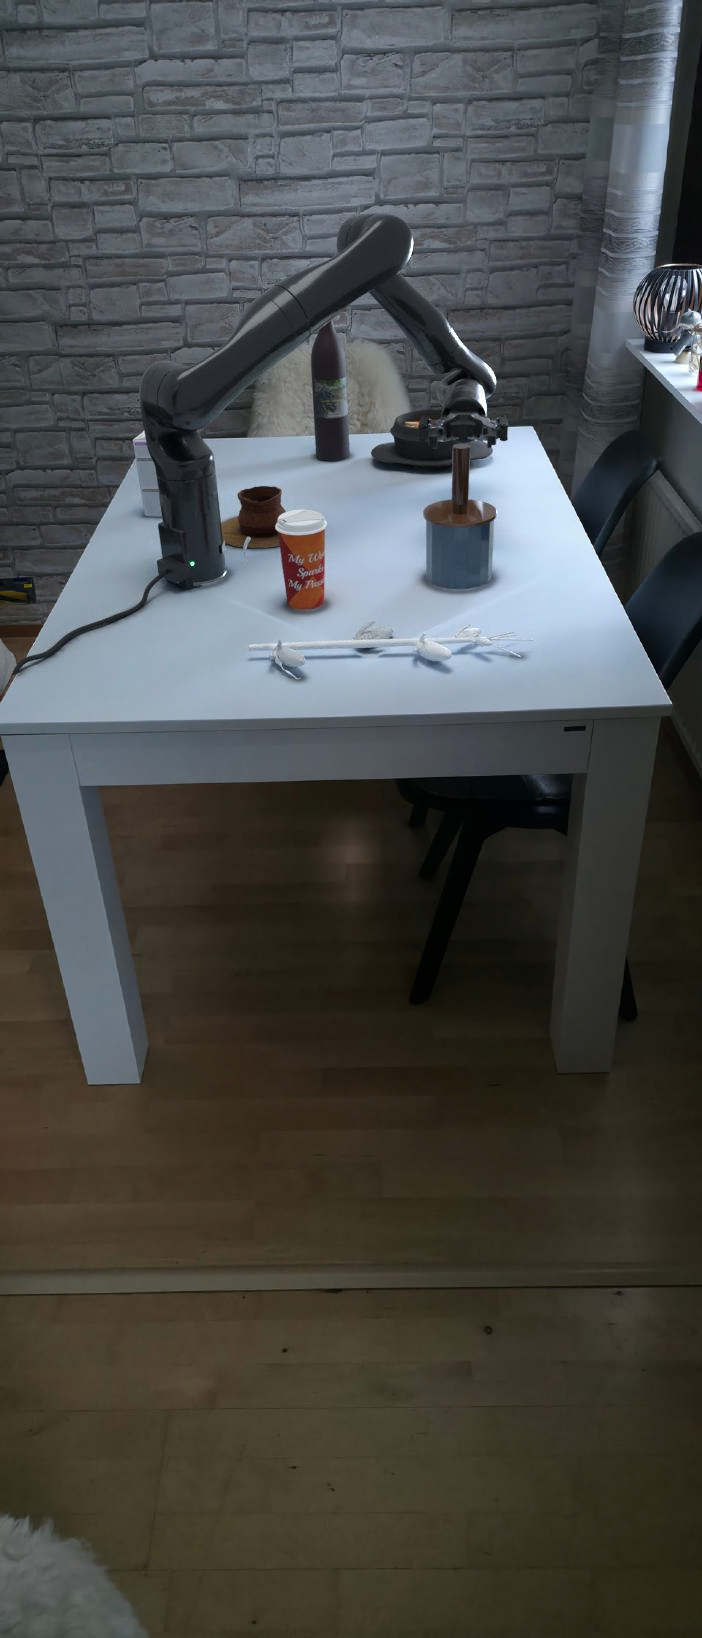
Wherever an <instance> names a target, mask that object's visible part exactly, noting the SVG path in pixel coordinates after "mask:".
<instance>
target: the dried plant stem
mask: <svg viewBox="0 0 702 1638" xmlns="http://www.w3.org/2000/svg"><path fill="white" fill-rule="evenodd" d="M250 540H251V538H250V537H247V539H246V540H245V543H244V547H243V556H244V560H245V561H246V563H247V565H250V563H249V560H248V557H247V548H248V547H247V545H248V543H249V541H250ZM375 623H376V620H371V621H370V622H367V623H366V624H363V626H362V627H360V628H359V629H358V631H357V632H356V634H355V636H353V638H352V639H346V640H345V639H343V640H342V639H341V640H319V641H318V640H317V641H294V642H293V641H292V642H283V640H282V639H281V638H279V639H278V640H277V642H275V643H256V644H255V643H254V644H248V651H249V652H257V651H258V652H261V651H263V652H264V651H265V652H266V651H267V652H268V651H270V652H272V653H270V654H269V656H268V657H269V660H270V661H271V660H275V664H277V665H278V666H279V667H280V668H281V670H282V671H285V672H286V673H287V674H289V675H290V676H291V677H292V678H295V680H301V679H302V677H297V676H296V675H294V673H292V672H291V671H289V670H288V669H284V667H283V665H285V666H287V667H289V668H293V667H303V666H305V664H306V658H305V656H304V655H303V654H302V653H301V652H299V651H307V650H339V649H340V650H342V649H368V648H369V649H371V648H392V647H393V648H394V647H414V648H413V649H412V654H414V655H416V654H417V655H419V656H421V657H422V658H425V659H426V660H429V661H431V662H436V661H437V662H438V661H440V662H445V661H448V660H450V659H451V658H452V656H453V655H452V651H450V649H449V648H447V647H445V646H443V645H452V644H467V643H470V644H471V643H472V644H476V645H477V646H480V647H491V646H493V647H496V648H498V649H501V650H502V651H505V652H507V653H509V654H512V655H513V656H516V657H519V658H521V657H522V655H520V654H518V653H516V652H513V651H512V650H509V649H507V648H504V647H503V646H500V645H498V644H495V643H493V641H496V642H497V641H498V642H499V641H519V642H520V641H521V642H522V641H523V642H524V641H525V642H526V641H527V642H534V640H535V639H534V638H511V637H516V636H517V634H516V632H515V630H513V631H508V632H504V633H503V632H502V633H499V634H495V635H488V636H485V637H484V636H480V635H481V633H482V630H481V628H479V627H470V626H471V623H467V624H466V625H463V626H462V627H461V628H460V629H459V630H458V631H457V633H456V634H454V637H427V633H426V632H423V633H422V634H421V636H420V637H412V638H411V637H410V638H409V637H408V638H391V637H392V636H393V635H394V632H395V631H394V628H392V627H390V626H375V627H372V626H373V625H374V624H375ZM370 627H371V628H370ZM469 627H470V628H469ZM509 637H510V638H509Z"/></svg>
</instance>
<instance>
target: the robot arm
mask: <svg viewBox="0 0 702 1638" xmlns="http://www.w3.org/2000/svg"><path fill="white" fill-rule="evenodd" d="M413 247H414V235H413V232H412V229H411V227H410V226H409V224H408V223H407V222H406V221H405V220H404V219H403V218H402V217H399V216H397V215H395V214H391V213H387V212H386V213H383V212H379V213H359V214H355V215H351V216H349V217H348V218H346V219H345V220H344V221H343V222H342V223H341V225H340V227H339V229H338V232H337V235H336V252H337V254H335V255H334V256H333V257H331V258H328V259H327V260H324V261H322V262H320V263H317V264H315V265H312V266H309V267H307V268H305V269H302V270H300V271H297V272H295V273H293V274H291V275H289V276H287V277H285V278H283V279H281V280H279V281H278V282H276V283H275V284H274V285H272V286H270V288H268V289H267V290H265V291H264V292H263V293H261V294H260V295H259V296H257V297H256V298H255V299H254V300H252V301H251V302H250V303H249V304H248V305H247V307H246V308H245V309H244V310H243V311H242V313H241V315H240V316H239V318H238V320H237V322H236V325H235V327H234V329H233V331H232V332H231V334H230V336H229V337H228V339H227V340H226V341H225V342H224V343H223V344H222V345H220V346H219V347H218V348H217V349H216V350H214V351H213V352H211V353H210V354H209V355H207V356H206V357H204V358H203V359H200V360H199V361H198V362H196V363H193V364H191V365H188V364H184V363H181V362H177V361H174V360H167V359H164V360H158V361H156V362H154V363H151V365H150V366H149V367H147V369H146V370H145V371H144V373H143V375H142V377H141V381H140V384H139V390H138V394H139V395H138V398H139V400H138V401H139V409H140V414H141V415H140V416H141V421H142V426H143V431H144V432H145V438H146V443H147V448H148V451H149V454H150V456H151V458H152V460H153V462H154V465H155V469H156V475H157V483H158V490H159V498H160V506H161V513H162V517H161V520H162V521H161V522H159V523H158V524H157V530H158V537H159V545H160V551H161V558H160V559H157V560H156V566H157V573H158V575H156V576H155V577H154V578H153V579H152V580H151V581H150V582H149V583H148V584H147V586H146V587H145V589H144V592H143V595H142V598H141V600H140V601H139V602H138V603H137V604H135V605H134V606H133V607H131V608H129V609H126V610H124V611H120V612H117V613H115V614H113V615H110V616H108V617H105V618H103V619H100V620H98V621H97V620H96V621H94V622H91V623H87V624H85V625H82V626H80V627H77V628H75V629H73V630H71V631H69V632H68V633H66V634H65V635H64V636H62V638H60V639H59V640H58V641H57V642H56V643H55V644H54V645H53V646H52V647H50V648H49V649H47V650H46V651H43V652H40V653H37V654H32V655H29V656H26V657H24V658H22V659H21V660H19V662H17V664H16V665H15V667H14V668H13V671H12V673H11V675H12V676H15V675H18V674H19V672H20V670H21V669H22V667H23V666H25V665H26V664H27V663H29V662H33V661H37V660H42V659H45V658H48V656H51V655H52V654H53V653H55V652H56V651H57V650H58V649H59V648H60V647H61V646H62V645H64V644H65V643H66V642H67V641H68V640H70V639H71V638H73V637H74V636H77V635H78V634H81V633H83V632H85V631H88V630H91V629H94V628H97V627H100V626H103V625H107V624H108V623H111V622H114V621H116V620H119V619H121V618H124V617H127V616H129V615H132V614H134V613H136V612H137V611H138V610H140V609H141V608H142V607H143V606H144V605H145V604H146V602H147V601H148V597H149V594H150V591H151V589H152V588H153V587H154V586H155V585H156V584H157V583H158V582H159V581H160V580H162V579H163V578H164V579H165V580H166V581H168V582H170V583H173V584H175V585H178V586H179V587H182V588H184V589H191V588H195V587H203V585H206V584H210V583H213V582H218V581H219V580H221V579H223V578H224V577H225V576H226V575H227V572H228V569H227V566H226V555H225V551H226V544H225V540H224V542H223V537H222V527H221V524H222V518H221V510H220V500H219V492H218V481H217V472H216V462H215V455H214V452H213V451H212V449H211V448H210V447H209V445H208V444H207V443H206V441H205V440H204V439H203V437H202V435H201V433H200V430H201V429H203V428H205V427H206V426H208V425H209V424H210V423H211V422H213V420H214V419H216V418H217V417H218V416H219V415H220V414H221V413H222V412H223V411H224V410H225V408H227V407H228V406H229V405H230V404H231V403H232V402H233V401H234V400H235V399H236V398H237V397H238V396H239V395H240V394H241V393H242V392H243V391H245V389H246V388H248V386H250V385H251V384H252V383H254V382H255V381H256V380H257V379H259V378H260V377H262V376H263V375H264V374H265V373H267V372H268V371H269V370H270V369H272V368H273V367H274V366H275V365H276V364H277V363H279V362H280V361H282V360H283V359H284V358H286V357H287V356H289V355H290V354H291V353H293V352H295V350H297V349H298V348H299V347H300V346H302V345H303V344H304V343H306V342H307V341H308V340H309V339H311V338H312V337H313V336H314V335H315V334H316V333H318V332H319V330H320V329H321V328H322V327H323V326H325V325H326V324H327V323H328V322H330V321H331V320H332V319H333V320H334V319H335V318H336V317H337V316H339V315H340V314H341V313H343V311H344V310H346V309H347V308H348V307H349V306H351V305H352V304H353V303H355V302H356V301H358V300H359V299H360V298H362V297H364V296H365V295H367V294H369V295H370V296H371V297H372V298H373V299H374V300H375V301H376V302H377V304H378V305H379V306H380V307H381V308H382V309H383V310H384V311H385V312H386V313H387V315H388V316H389V317H390V318H391V319H392V320H393V322H394V323H395V324H396V326H397V327H398V328H399V329H400V331H402V333H403V334H404V336H405V337H406V338H407V340H408V341H409V342H410V344H411V345H412V347H413V348H414V350H415V351H416V352H417V354H418V356H419V357H420V359H421V360H422V361H423V363H424V364H425V366H426V368H427V369H428V370H429V371H430V372H431V373H432V374H433V375H437V376H439V375H445V374H448V373H450V374H448V375H447V376H445V377H444V378H443V379H441V380H440V382H439V383H438V384H437V386H436V397H437V399H438V402H439V404H440V405H441V407H442V409H441V410H442V415H441V417H440V418H439V419H438V421H431V419H430V418H429V416H422V417H421V420H420V422H419V425H418V441H420V442H424V441H426V439H428V445H429V446H432V449H437V444H438V441H441V442H446V441H449V440H452V441H454V442H457V443H469V442H472V441H474V440H477V441H480V442H486V443H487V448H492V449H493V446H496V445H497V440H499V441H500V442H507V441H508V439H509V436H508V435H509V423H508V418H507V415H505V414H500V415H498V417H496V418H495V420H494V419H492V420H490V418H489V417H488V405H487V402H486V400H487V399H488V398H490V397H491V396H492V395H494V393H495V392H496V388H497V378H496V376H495V373H494V371H493V370H492V368H491V367H490V366H489V365H488V363H486V362H485V361H484V360H482V359H481V358H480V357H479V356H478V355H476V354H475V353H474V352H472V350H470V349H469V348H467V346H466V345H465V344H464V343H463V342H462V341H461V340H460V338H459V336H458V334H457V333H456V332H455V330H454V329H453V328H452V326H451V324H450V323H449V321H448V320H447V317H446V316H444V314H443V313H442V312H441V310H439V309H438V307H436V306H435V304H433V303H432V302H431V301H430V300H429V299H428V298H427V297H425V296H424V295H423V294H422V293H421V292H420V291H418V290H417V289H416V288H415V287H414V286H413V284H411V283H410V282H409V281H408V280H407V279H406V278H405V277H404V276H403V275H402V273H401V272H402V271H403V270H404V268H406V266H407V265H408V262H409V260H410V258H411V256H412V253H413V250H414V249H413Z"/></svg>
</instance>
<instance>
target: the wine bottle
mask: <svg viewBox="0 0 702 1638" xmlns="http://www.w3.org/2000/svg"><path fill="white" fill-rule="evenodd" d="M310 371H311V388H312V389H311V390H312V405H313V406H312V407H313V408H312V409H313V424H314V425H313V426H314V441H315V442H314V445H315V455H316V458H317V459H319V460H321V461H326V462H337V461H342V460H345V459H347V458H348V457H349V456H350V451H351V450H350V427H349V403H348V401H349V399H348V378H347V376H348V374H347V358H346V351H345V347H344V345H343V341H341V339H340V337H339V335H338V333H337V330H336V328H335V326H334V319H332V320H331V321H330V322H328V323H327V324H326V325H325V326H323V327H322V328H321V329H320V330H318V331H317V334H316V337H315V339H314V341H313V345H312V348H311V352H310Z"/></svg>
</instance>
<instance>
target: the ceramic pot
mask: <svg viewBox="0 0 702 1638" xmlns="http://www.w3.org/2000/svg"><path fill="white" fill-rule="evenodd" d="M282 494H283V491H282V489H281V488H280V487H277V486H275V485H274V486H269V485H259V486H253V487H250V488H244V489H241V490H240V491H238V492H237V495H236V496H237V499H238V500H239V504H240V509H239V511H238V516H236V517H232V518H229V519H227V520H226V521H224V522H221V527H222V537H223V542H224V540H225V545H226V544H227V545H230V546H233V547H238V548H239V547H240V548H244V543H245V540H246V539H247V537H250V538H251V540H250V541H249V543H248V545H247V548H251V549H256V548H257V549H258V548H261V549H264V548H267V549H268V548H276V547H280V544H279V536H278V531H277V530H276V528H275V526H276V524H277V520H278V517H279V516H280V515H281V514H283V513H285V512H287V511H286V509H285V508H284V507H283V506H282Z"/></svg>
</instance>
